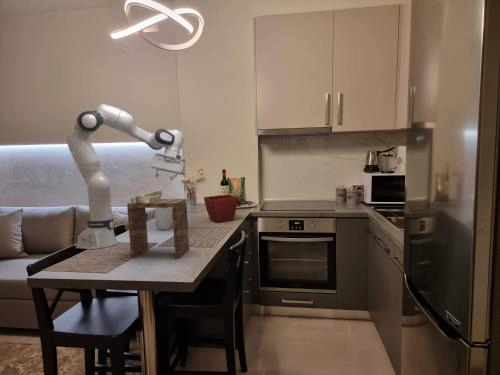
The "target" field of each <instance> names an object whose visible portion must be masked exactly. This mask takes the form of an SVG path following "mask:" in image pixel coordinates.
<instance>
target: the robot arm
mask: <svg viewBox="0 0 500 375" xmlns="http://www.w3.org/2000/svg"><path fill="white" fill-rule="evenodd" d="M74 125H75V126H74V129H73V130H70V131H68V132H67V134H66V135H65V139H66V140H65V141H66V145H67V147H68V149H69V152H70V154H71V156H72V158H73V160H74V163H75V164H76V166H77V168H78V171H79V172H80V175H81V176H82V178H83V181H84V182H85V184H86V186H87V197H88V209H89V210H88V211H89V221H85V224H86V225H87V227H86V228H85V229H84V230H83V231H82V232H80V234H78V236H77V242H76V243H75V244H73V245H75V246H76V244H77V246H76V248H75V249H85V250H86V249H87V250H97V249H102V248H108V247H109V248H110V247H112V246H115V245H117V244H118V241H117V238H116V234H115V231H114V218H113V212H112V193H111V192H112V191H111V182H110V180H109V178H108V177H107V175H106V173H105V170H104V168H103V166H102V163H101V161H100V159H99V157H98V154H97V152H96V151H95V149H94V146H93V144H92V142H91V140H90V135H92V134H93V133H95V132H97V130H98V129H99V128H100V127H101V126H108V127H109V128H111V129H114V130H117V131H119V132H122V133H124V134H127V135H129V136H131V137H133V138H134V139H138V141H141V142H143V143H145V144H147V146H148V147H150V148H151V149H152V150H154V151H159V150H162V149H163V148H164V152H163V154H162V153H161V154H160V153H155V154H154V155H153V156H152V159H151V161H150V164H149V167H151V169H153V170H154V173H155V174H154V177H155V178H158V177H159V175H160V174H159V173H158V172H159V171H162V172H167V173H170V174H171V173H172V174H173V175H172V176H170V178H169V180H170V181H174V178H176V177H177V176H178V175H184V173H185V170H186V163H187V161H186V158H185V157H184V156H182V155H181V150H182V149H183V145H184V141H185V135H184V133H183V132H182V131H181V130H179V129H164V128H159V129H157V130H156V131H154V132H149V131H146V130H145V129H143V128H140V127H139V126H138V125H136V124H135V121H134V118H133V116H132V115H131V114H130V113H128V112H126V111H125V110H123V109H120V108H118V107H116V106H112V105H109V104H105V103H102V104H100V105H98V106H97V107H96V109H95V110H86V111H82V112H80V113H79V114H78V116H76V119H75V124H74Z"/></svg>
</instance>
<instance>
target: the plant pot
mask: <svg viewBox="0 0 500 375" xmlns="http://www.w3.org/2000/svg"><path fill="white" fill-rule="evenodd" d="M238 200H239V199H238V196H236V195H235V196H234V195H231V194H221V195H212V196H211V195H210V196H203V201H204V205H205V207H206V208H205V209H206V212H207V214H208V217H209V219H210V221H212V222H214V223H216V224H217V223H224V222H226V223H227V222H232V221H234V219H235V216H236V211H237V206H238Z"/></svg>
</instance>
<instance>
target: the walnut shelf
mask: <svg viewBox="0 0 500 375" xmlns="http://www.w3.org/2000/svg"><path fill="white" fill-rule="evenodd" d="M187 204H188V203H187V198H161V200H158V201H155V202H152V203H131V202H128V203H126V206H127V207H126V208H127V209H126V210H127V218H128V219H127V220H128V222H127V223H128V234H129V236H128V237H129V246H130V258H131V259H136V258H138V257H139V256H141V255H142V254H144V253H145V252H147V251H148V250H149V240H148V228H147V226H148V224H147V214H146V213H147V212H146V211H147V210H146V209H151V208H152V209H156V208H172V213H173V224H172V229H173V243H174V259H175V260H176V259H181V258H182V257H183V256H184V255H186V253H187V252H189V251H190V241H189V240H190V238H189V235H190V234H189V220H188V205H187Z"/></svg>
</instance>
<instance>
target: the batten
mask: <svg viewBox="0 0 500 375" xmlns="http://www.w3.org/2000/svg"><path fill="white" fill-rule="evenodd" d="M156 195H161V197H162V196H163V194H162V190H152V191H150V192H145V193H142V194H139V195H135V196H134V197H135V198H136V203H143V202H146V201H149V198H150V197H153V196H156Z"/></svg>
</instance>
